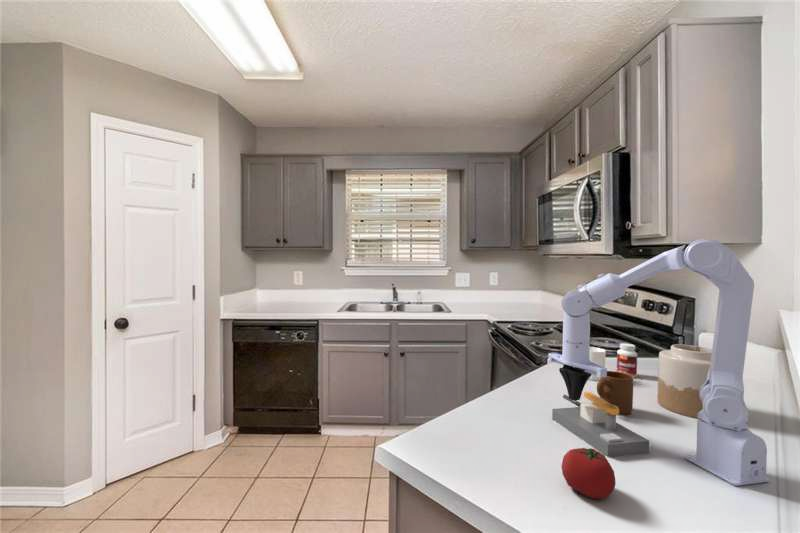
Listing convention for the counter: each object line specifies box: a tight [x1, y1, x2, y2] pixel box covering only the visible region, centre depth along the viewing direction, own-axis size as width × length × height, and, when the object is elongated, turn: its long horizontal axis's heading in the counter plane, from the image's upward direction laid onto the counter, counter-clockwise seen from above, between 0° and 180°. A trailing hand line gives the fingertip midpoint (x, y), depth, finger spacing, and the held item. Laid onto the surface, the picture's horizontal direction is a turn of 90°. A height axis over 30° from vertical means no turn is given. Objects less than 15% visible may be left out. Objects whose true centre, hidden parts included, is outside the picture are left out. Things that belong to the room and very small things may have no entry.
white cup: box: [587, 346, 607, 382], centre depth 125 cm, size 8×8×10 cm
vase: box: [657, 343, 712, 419], centre depth 99 cm, size 15×15×17 cm
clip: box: [583, 391, 620, 416], centre depth 83 cm, size 10×3×1 cm, turn 4°
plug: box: [562, 394, 606, 423], centre depth 89 cm, size 12×4×3 cm, turn 12°
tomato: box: [561, 447, 617, 500], centre depth 61 cm, size 8×8×7 cm
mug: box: [596, 370, 634, 416], centre depth 96 cm, size 12×8×9 cm, turn 120°
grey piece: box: [551, 406, 650, 458], centre depth 82 cm, size 18×10×6 cm, turn 12°
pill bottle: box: [615, 342, 638, 378], centre depth 129 cm, size 6×6×11 cm
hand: (574, 399), depth 85 cm, fingers closed
